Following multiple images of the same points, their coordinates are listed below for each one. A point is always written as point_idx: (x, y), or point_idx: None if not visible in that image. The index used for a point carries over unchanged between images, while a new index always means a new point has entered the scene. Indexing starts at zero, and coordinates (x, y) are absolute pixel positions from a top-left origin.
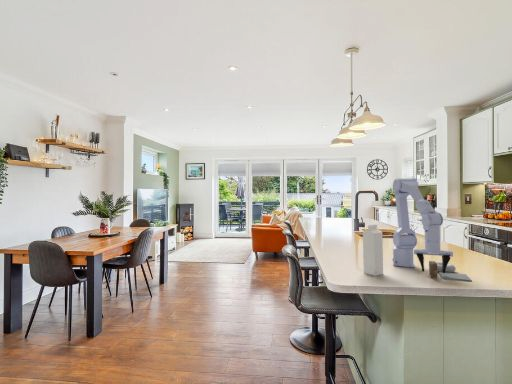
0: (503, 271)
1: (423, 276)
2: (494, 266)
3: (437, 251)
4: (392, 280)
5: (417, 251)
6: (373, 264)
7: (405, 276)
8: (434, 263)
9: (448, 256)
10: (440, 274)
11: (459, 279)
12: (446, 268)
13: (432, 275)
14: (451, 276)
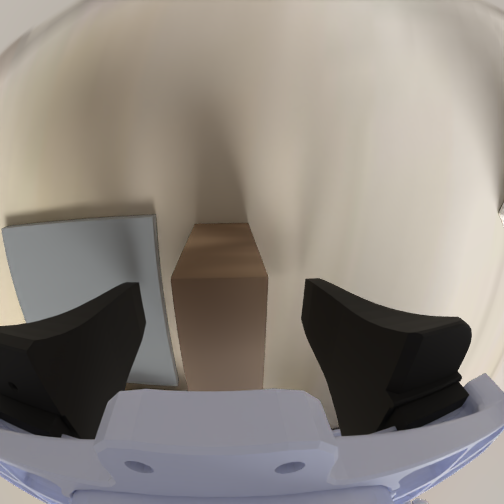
0: None
1: (304, 245)
2: None
3: (98, 500)
4: (473, 80)
5: (487, 414)
6: None
7: (424, 195)
8: (207, 317)
9: (9, 402)
10: (166, 331)
11: (49, 222)
12: None
13: (236, 229)
14: (92, 284)
